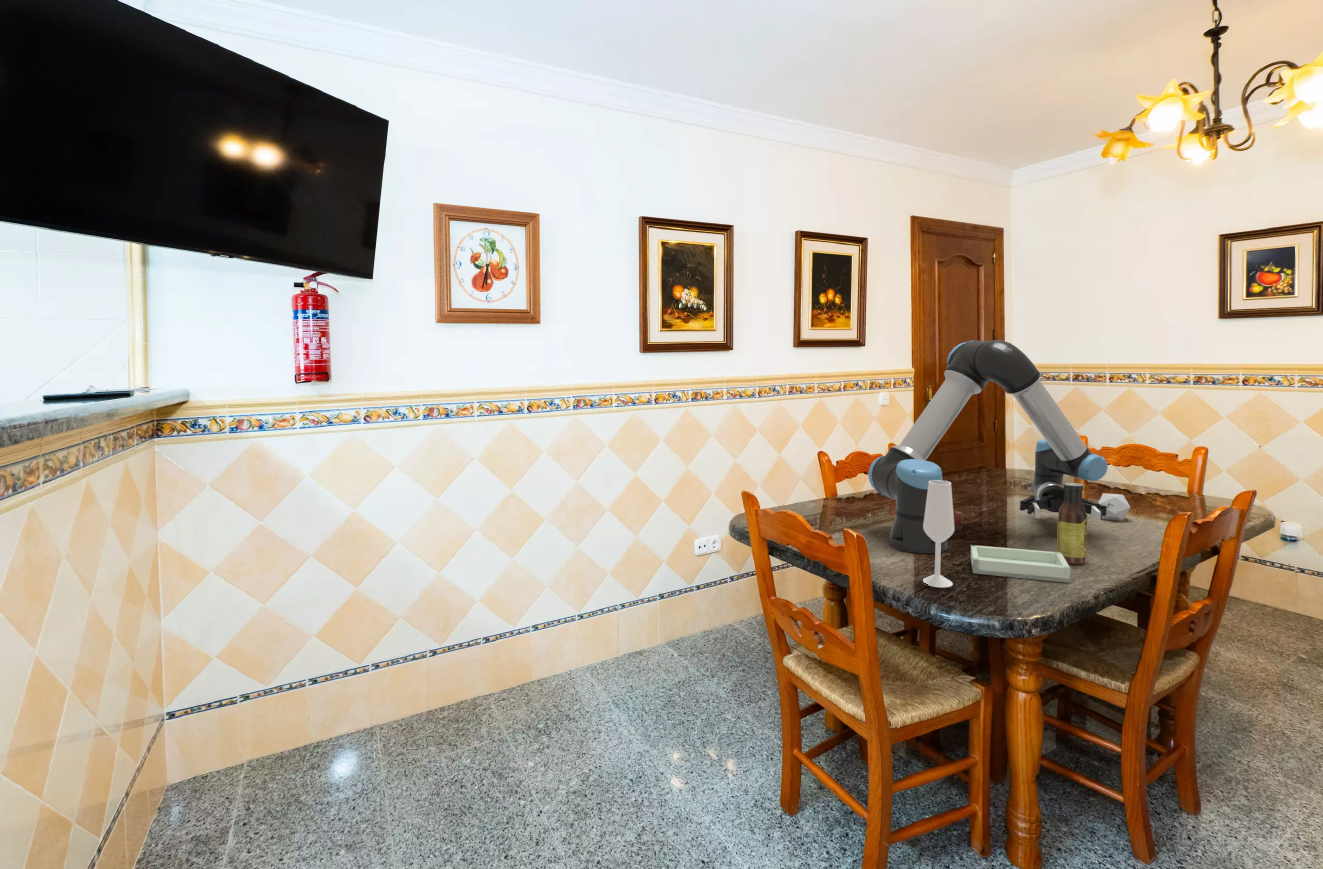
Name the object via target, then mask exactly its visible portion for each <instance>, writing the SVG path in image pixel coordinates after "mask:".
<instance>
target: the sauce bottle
mask: <svg viewBox="0 0 1323 869" xmlns="http://www.w3.org/2000/svg"><path fill="white" fill-rule="evenodd" d="M1063 488H1064V490H1065V494H1064V503H1063V504H1062V506H1061V507H1060V508H1059V512H1057V513H1058V515H1057V516H1058V518H1057V531H1056V532H1057V536H1056V537H1057V538H1056V539H1057V540H1056V541H1057V542H1056V552H1060V553H1061V554H1062V555H1063V557H1064V558H1065V560H1066V562H1067V563H1068V565H1070V564H1071V565H1083V564H1084V563H1085V562H1086V557H1087V542H1088V541H1087V540H1088V539H1087V538H1088V537H1087V536H1088V514H1087V513H1086V511H1085V508H1084V505H1083V502H1082V498H1083V491H1084V485H1083V484H1082V483H1077V482H1076V483H1075V482H1066V483H1064V484H1063Z"/></svg>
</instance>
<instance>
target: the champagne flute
mask: <svg viewBox="0 0 1323 869" xmlns="http://www.w3.org/2000/svg"><path fill="white" fill-rule="evenodd" d="M953 511H954V504H953V490H952V482H950V481H948V480H943V481H941V480H933V481H929V484H928V492H927V500H926V508H925V515H924V523H923V529H924V531H925V533H926V534H927V535H928V536H929V537H930V538H931V539H932V540H933V541H934V542H936V544H935V553H934V574H932V575H929V576H926V577H925V578H922V579H923V582H924V583H926V584H928V585H927V586H930V587H933V588H950V587H952V586H953V585H954V584H953V582H952V581H951V580H950V579H948V578H946V577H945V576H943V575H942V574H941V558H942V557H941V555H942V554H941V553H942V552H941V543H942V542H944V541H945V540H947V541H948V539H949V538H950V537H951V536H953V534H954V533H955V527H954V515H953ZM923 582H922V583H923ZM924 583H923V584H924ZM926 584H925V585H926Z"/></svg>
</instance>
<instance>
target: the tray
mask: <svg viewBox="0 0 1323 869" xmlns="http://www.w3.org/2000/svg"><path fill="white" fill-rule="evenodd" d="M970 564H971V569H972V574H977V575H984V576H985V575H988V576H998V577H1005V578H1016V579H1017V578H1018V579H1025V580H1026V579H1027V580H1036V581H1045V582H1046V581H1048V582H1056V583H1065V584H1066V583H1067V584H1070V583H1071V582H1070V581H1071V567H1070V564H1068V563H1067V562H1066V560H1065V558H1064V557H1063V555H1062V554H1061V553H1060V552H1057V551H1047V550H1046V551H1044V550H1033V549H1032V550H1031V549H1022V548H1013V547H1012V548H1011V547H1010V548H1009V547H999V546H998V547H996V546H986V545H976V544H974V545H972V544H970Z"/></svg>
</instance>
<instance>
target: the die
mask: <svg viewBox="0 0 1323 869" xmlns="http://www.w3.org/2000/svg"><path fill="white" fill-rule="evenodd" d="M1097 503H1099V504H1101V505H1104V506H1107V511H1106V516H1102V517H1101V519H1102V520H1106V521H1120V522H1123V521H1124V520H1125V519H1126V517H1127V515H1128V512H1129V511H1130V509H1131V506H1130V504H1129V503H1128V500H1127V499H1126V497H1125V496H1124V494H1119V493H1117V494H1116V493H1104V492H1103V493H1102V495H1101V496H1100V498H1099V500H1098V502H1097Z"/></svg>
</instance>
